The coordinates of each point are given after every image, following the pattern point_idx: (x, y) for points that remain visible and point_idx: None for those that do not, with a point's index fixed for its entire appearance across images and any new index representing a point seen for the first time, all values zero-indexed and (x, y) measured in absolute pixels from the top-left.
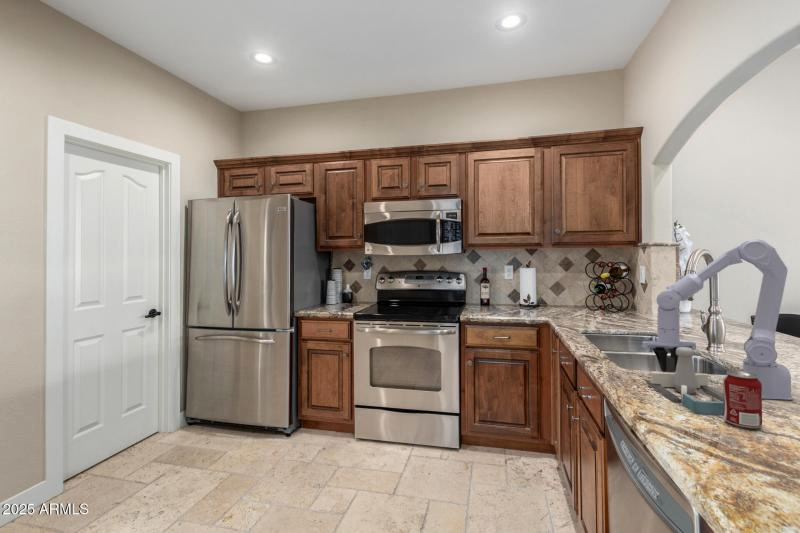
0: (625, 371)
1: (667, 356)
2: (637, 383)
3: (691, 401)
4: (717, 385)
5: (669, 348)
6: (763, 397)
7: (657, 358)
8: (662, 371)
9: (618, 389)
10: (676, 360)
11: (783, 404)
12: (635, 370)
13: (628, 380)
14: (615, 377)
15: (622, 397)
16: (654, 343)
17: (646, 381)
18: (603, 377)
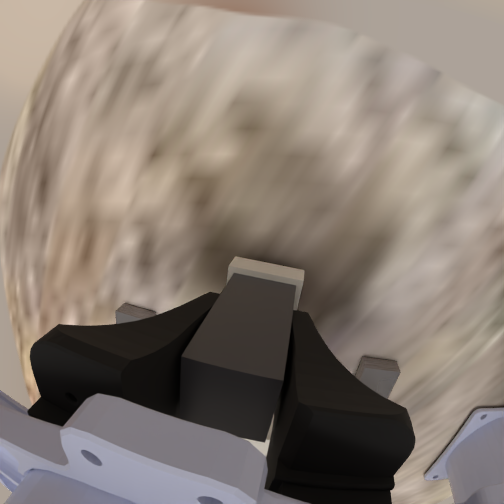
0: (125, 49)
1: (218, 399)
2: (88, 293)
3: None
4: (472, 357)
5: (303, 400)
6: (445, 478)
7: (148, 322)
8: (230, 279)
9: (25, 343)
10: (270, 438)
11: (445, 491)
12: (200, 15)
13: (67, 241)
14: (35, 187)
15: (34, 397)
16: (8, 484)
17: (118, 309)
18: (2, 190)
